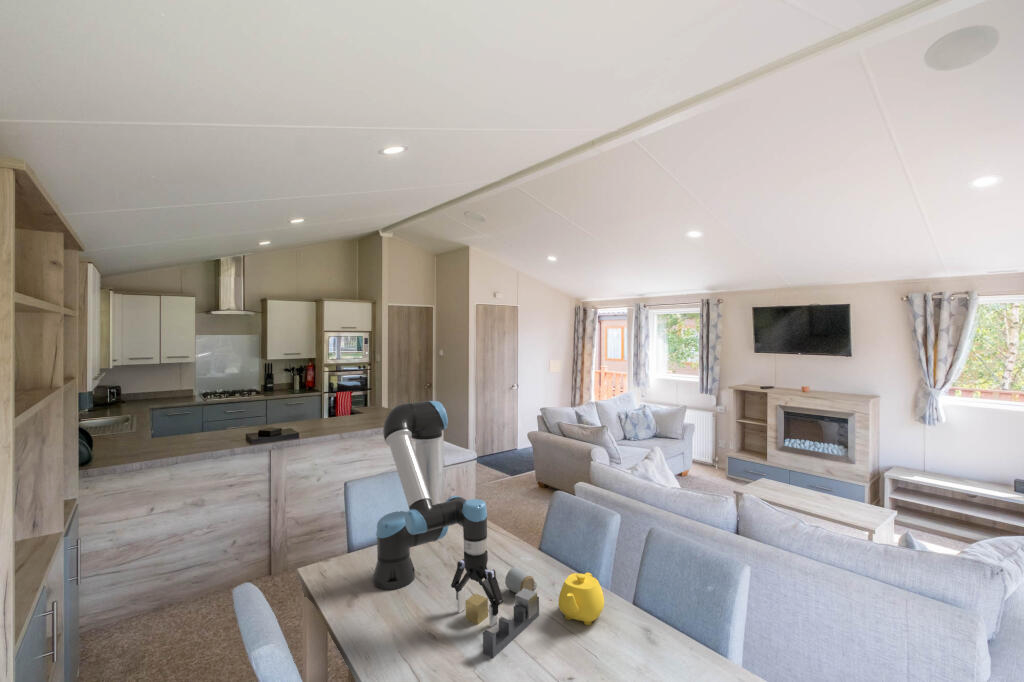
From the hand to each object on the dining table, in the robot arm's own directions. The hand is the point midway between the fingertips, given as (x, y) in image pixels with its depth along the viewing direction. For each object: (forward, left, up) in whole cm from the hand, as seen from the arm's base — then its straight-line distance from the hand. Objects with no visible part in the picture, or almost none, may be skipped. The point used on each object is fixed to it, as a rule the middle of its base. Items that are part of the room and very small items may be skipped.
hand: (477, 617), depth 151 cm
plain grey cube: (+14, +8, +2) cm, 16 cm away
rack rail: (+14, 0, 0) cm, 14 cm away
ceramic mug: (+3, +21, 0) cm, 22 cm away
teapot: (+27, +19, 0) cm, 33 cm away
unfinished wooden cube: (0, 0, 0) cm, 0 cm away
